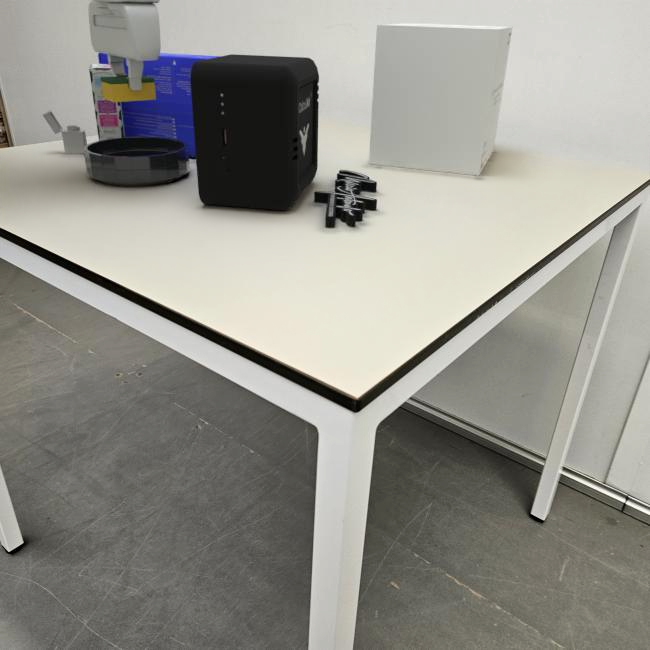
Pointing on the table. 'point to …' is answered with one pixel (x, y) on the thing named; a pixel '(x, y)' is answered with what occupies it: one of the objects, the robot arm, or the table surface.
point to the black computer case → (255, 129)
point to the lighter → (68, 135)
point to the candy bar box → (105, 105)
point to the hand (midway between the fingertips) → (128, 87)
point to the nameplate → (347, 198)
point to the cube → (437, 95)
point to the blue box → (163, 100)
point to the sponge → (127, 89)
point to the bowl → (137, 160)
